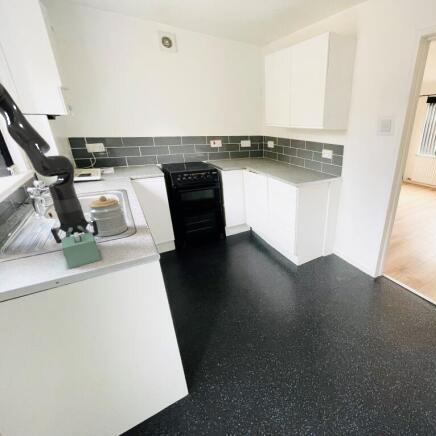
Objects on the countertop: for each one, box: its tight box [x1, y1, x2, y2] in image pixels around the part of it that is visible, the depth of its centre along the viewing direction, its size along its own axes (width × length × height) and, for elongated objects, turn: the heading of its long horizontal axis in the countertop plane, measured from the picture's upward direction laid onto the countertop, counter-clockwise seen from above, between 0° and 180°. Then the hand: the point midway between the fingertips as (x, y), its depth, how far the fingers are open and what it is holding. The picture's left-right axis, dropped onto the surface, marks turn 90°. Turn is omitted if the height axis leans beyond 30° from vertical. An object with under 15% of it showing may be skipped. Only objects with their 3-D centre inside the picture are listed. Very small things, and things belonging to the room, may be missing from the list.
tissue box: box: [60, 231, 102, 269], centre depth 91 cm, size 9×11×10 cm
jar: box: [87, 195, 128, 237], centre depth 114 cm, size 13×13×18 cm
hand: (82, 247), depth 100 cm, fingers open, 6 cm apart
